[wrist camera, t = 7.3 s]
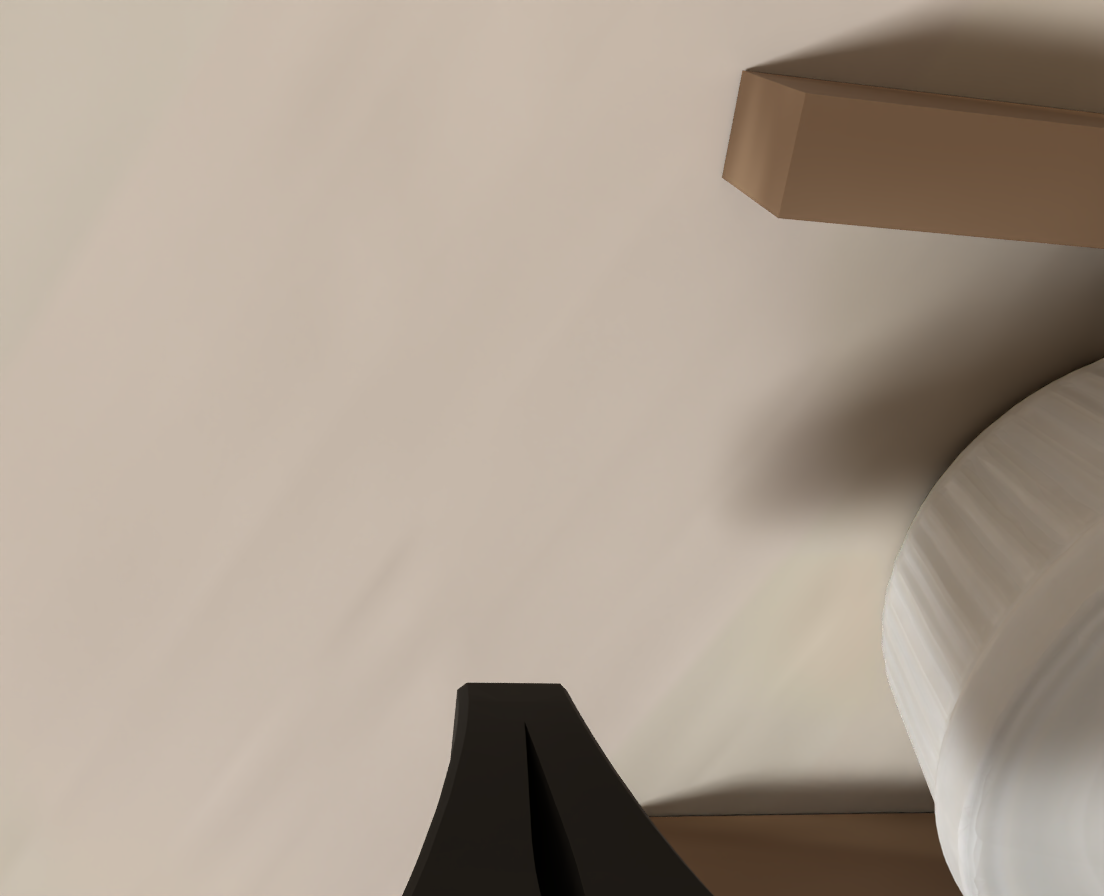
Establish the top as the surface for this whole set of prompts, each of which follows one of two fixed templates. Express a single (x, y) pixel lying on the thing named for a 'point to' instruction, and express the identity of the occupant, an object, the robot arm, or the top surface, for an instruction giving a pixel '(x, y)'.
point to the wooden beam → (907, 204)
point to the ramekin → (1011, 647)
